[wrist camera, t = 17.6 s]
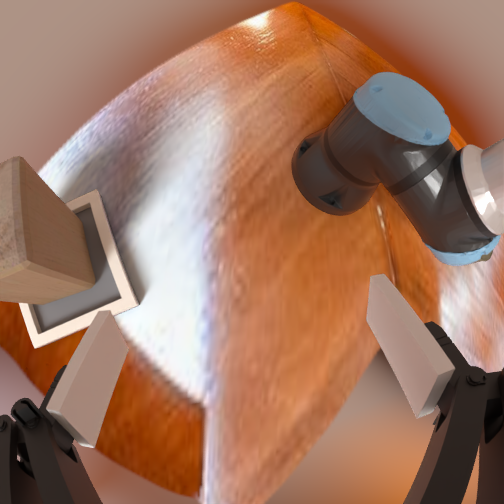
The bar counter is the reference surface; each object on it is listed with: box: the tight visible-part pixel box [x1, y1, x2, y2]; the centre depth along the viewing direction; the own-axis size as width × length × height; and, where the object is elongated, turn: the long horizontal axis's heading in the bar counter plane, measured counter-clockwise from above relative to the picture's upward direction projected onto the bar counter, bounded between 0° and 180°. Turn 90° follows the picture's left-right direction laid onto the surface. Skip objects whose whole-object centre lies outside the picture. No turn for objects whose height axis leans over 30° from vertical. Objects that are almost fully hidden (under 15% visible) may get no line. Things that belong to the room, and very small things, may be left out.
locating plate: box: [19, 189, 139, 348], centre depth 34 cm, size 17×17×3 cm
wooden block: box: [0, 156, 95, 305], centre depth 25 cm, size 10×10×20 cm
